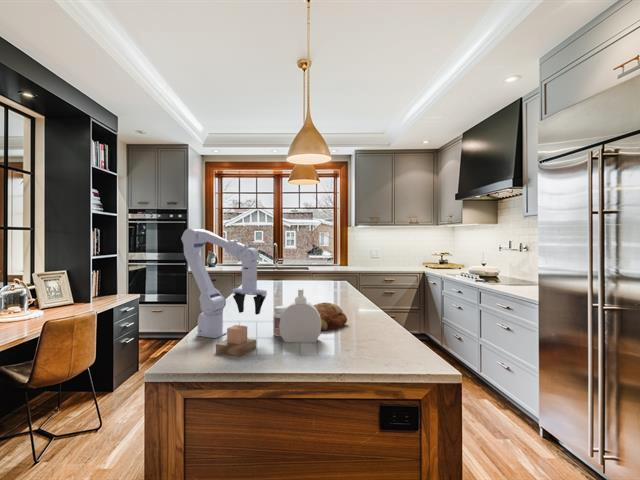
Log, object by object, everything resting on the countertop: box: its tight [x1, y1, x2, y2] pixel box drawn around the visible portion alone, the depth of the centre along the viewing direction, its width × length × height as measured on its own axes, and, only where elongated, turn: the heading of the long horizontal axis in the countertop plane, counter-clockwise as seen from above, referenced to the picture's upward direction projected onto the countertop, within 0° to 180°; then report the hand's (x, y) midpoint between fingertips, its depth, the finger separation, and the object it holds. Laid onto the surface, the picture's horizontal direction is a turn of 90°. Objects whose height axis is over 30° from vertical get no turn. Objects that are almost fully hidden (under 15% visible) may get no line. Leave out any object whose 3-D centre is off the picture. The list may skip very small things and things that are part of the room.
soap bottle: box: [279, 288, 322, 344], centre depth 141 cm, size 16×5×20 cm, turn 89°
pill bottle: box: [273, 305, 287, 337], centre depth 150 cm, size 6×6×11 cm
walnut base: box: [215, 337, 257, 357], centre depth 130 cm, size 10×10×3 cm
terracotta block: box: [226, 324, 248, 344], centre depth 130 cm, size 5×5×5 cm
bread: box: [312, 302, 348, 331], centre depth 165 cm, size 20×18×10 cm
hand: (249, 313), depth 145 cm, fingers open, 7 cm apart
